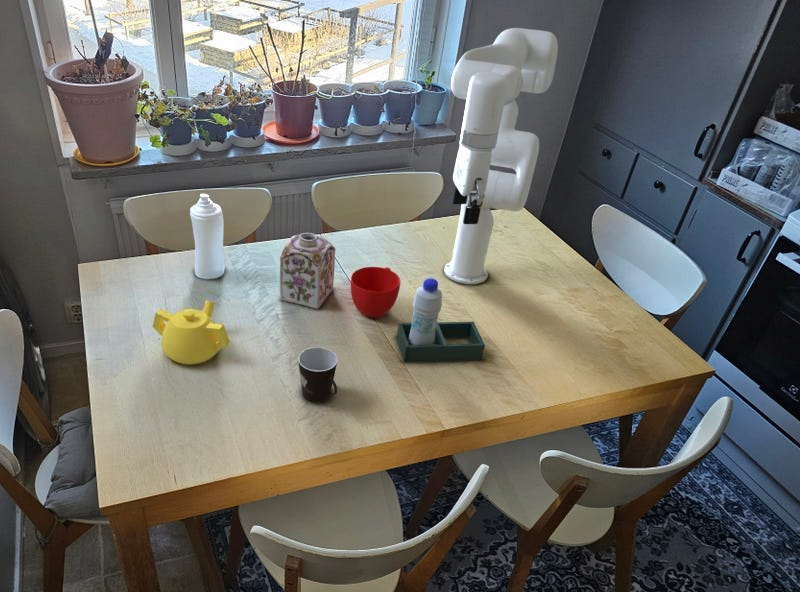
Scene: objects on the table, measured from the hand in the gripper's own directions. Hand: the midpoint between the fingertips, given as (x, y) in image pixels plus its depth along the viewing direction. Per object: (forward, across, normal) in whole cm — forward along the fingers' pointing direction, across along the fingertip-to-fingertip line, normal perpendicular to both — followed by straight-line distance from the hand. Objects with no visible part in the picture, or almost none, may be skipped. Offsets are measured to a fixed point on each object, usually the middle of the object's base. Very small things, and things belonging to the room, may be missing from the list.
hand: (464, 213), depth 143 cm
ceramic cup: (+34, -12, -16) cm, 40 cm away
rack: (+34, +6, -2) cm, 34 cm away
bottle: (+34, +6, -7) cm, 35 cm away
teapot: (+33, +3, -62) cm, 71 cm away
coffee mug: (+33, +24, -34) cm, 53 cm away
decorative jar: (+34, -19, -34) cm, 52 cm away
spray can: (+34, -31, -61) cm, 76 cm away
